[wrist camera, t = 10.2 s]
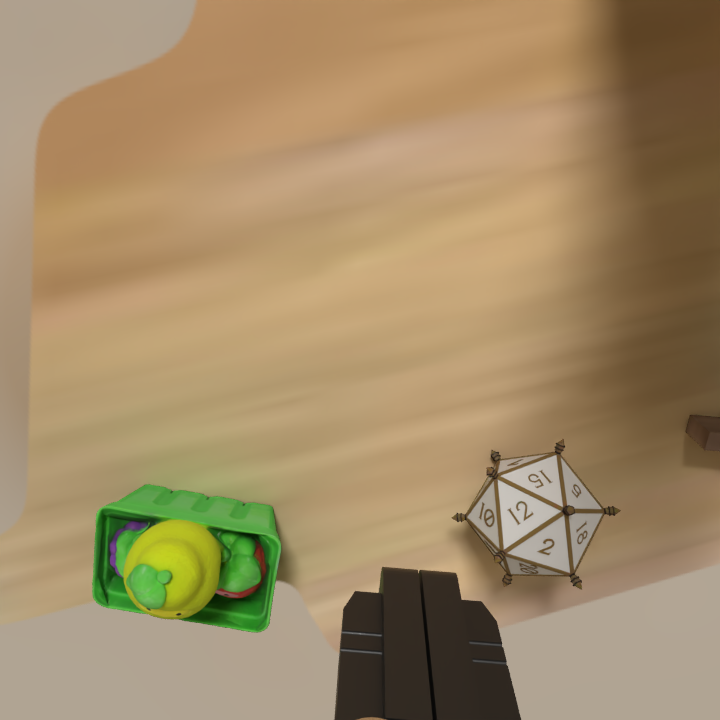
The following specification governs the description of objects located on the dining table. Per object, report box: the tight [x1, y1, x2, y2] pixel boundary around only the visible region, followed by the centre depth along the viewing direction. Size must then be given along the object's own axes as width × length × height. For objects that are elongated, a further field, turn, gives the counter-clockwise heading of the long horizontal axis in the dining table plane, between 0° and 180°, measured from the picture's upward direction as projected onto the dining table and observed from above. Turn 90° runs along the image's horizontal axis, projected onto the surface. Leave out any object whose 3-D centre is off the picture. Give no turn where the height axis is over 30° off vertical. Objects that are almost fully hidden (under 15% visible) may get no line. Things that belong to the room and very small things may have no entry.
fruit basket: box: [92, 485, 281, 632], centre depth 39 cm, size 11×9×11 cm
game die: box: [452, 439, 621, 590], centre depth 39 cm, size 9×8×10 cm
